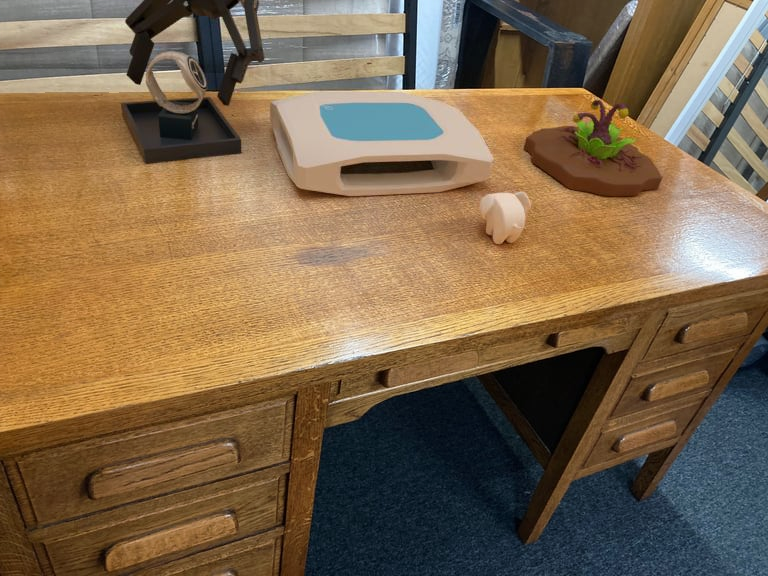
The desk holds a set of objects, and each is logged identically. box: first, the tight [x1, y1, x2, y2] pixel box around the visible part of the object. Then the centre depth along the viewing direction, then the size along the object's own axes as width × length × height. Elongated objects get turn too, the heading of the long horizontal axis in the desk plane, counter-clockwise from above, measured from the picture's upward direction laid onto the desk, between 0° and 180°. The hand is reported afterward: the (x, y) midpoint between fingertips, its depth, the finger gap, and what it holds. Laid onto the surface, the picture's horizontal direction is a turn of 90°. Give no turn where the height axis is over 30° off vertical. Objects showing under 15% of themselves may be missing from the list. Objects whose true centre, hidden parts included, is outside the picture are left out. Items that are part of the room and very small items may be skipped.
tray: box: [120, 96, 242, 164], centre depth 91 cm, size 15×13×2 cm
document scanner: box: [269, 90, 495, 197], centre depth 91 cm, size 21×28×6 cm
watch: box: [145, 50, 208, 140], centre depth 87 cm, size 6×8×11 cm
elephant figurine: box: [478, 190, 532, 245], centre depth 79 cm, size 7×8×6 cm
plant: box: [523, 99, 663, 197], centre depth 98 cm, size 20×20×11 cm
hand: (177, 91), depth 87 cm, fingers open, 13 cm apart
